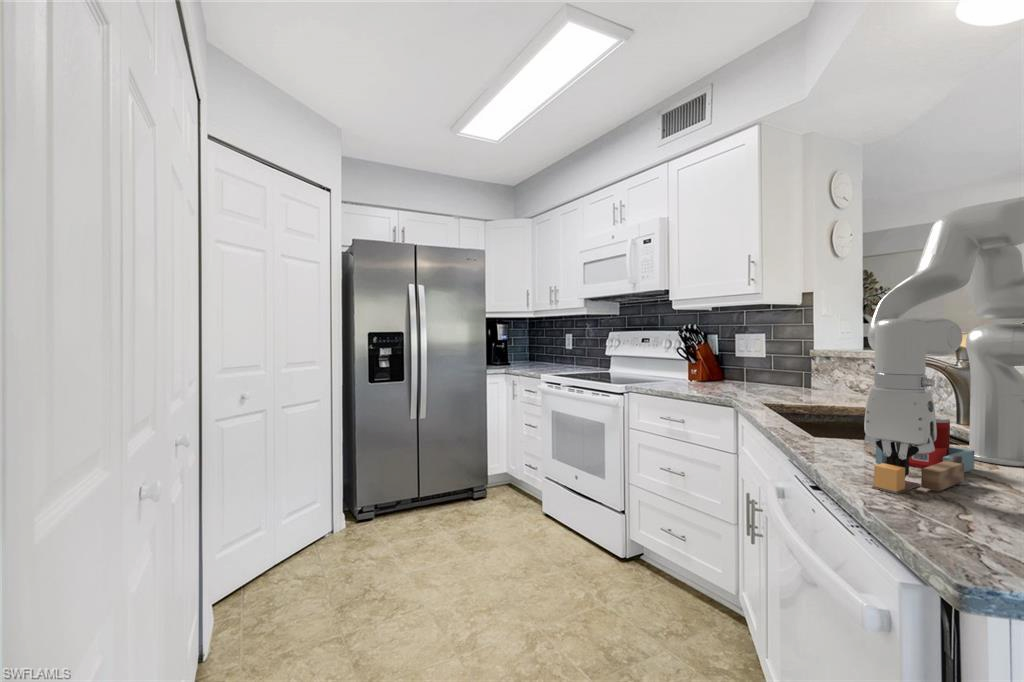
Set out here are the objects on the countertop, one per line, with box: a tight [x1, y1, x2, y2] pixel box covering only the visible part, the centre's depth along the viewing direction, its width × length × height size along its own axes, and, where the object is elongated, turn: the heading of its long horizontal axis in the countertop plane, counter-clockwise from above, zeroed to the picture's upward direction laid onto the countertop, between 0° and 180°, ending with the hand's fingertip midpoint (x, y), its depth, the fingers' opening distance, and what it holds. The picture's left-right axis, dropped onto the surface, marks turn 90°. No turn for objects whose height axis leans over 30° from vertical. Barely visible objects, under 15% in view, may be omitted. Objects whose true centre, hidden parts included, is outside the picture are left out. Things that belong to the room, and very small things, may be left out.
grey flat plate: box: [871, 480, 921, 495], centre depth 89 cm, size 10×4×1 cm, turn 119°
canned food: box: [909, 414, 951, 469], centre depth 103 cm, size 8×8×11 cm
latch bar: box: [920, 455, 965, 492], centre depth 89 cm, size 13×2×5 cm, turn 119°
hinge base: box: [954, 480, 970, 486], centre depth 92 cm, size 4×4×1 cm
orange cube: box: [873, 463, 906, 492], centre depth 87 cm, size 4×4×4 cm
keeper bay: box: [875, 442, 975, 473], centre depth 103 cm, size 13×13×4 cm
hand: (897, 477), depth 89 cm, fingers closed
